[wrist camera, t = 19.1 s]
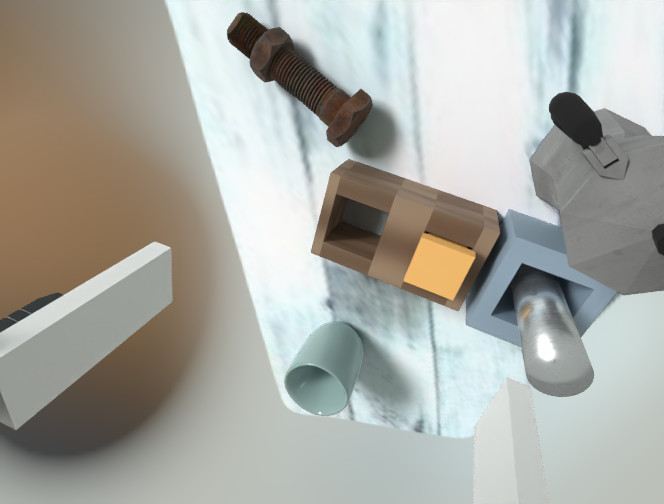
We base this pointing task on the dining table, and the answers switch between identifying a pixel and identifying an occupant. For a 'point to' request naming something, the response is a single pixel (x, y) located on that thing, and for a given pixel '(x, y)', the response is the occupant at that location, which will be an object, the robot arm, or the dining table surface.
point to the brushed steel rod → (549, 335)
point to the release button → (439, 265)
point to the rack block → (539, 252)
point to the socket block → (399, 226)
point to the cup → (326, 369)
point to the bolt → (298, 77)
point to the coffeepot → (605, 194)
